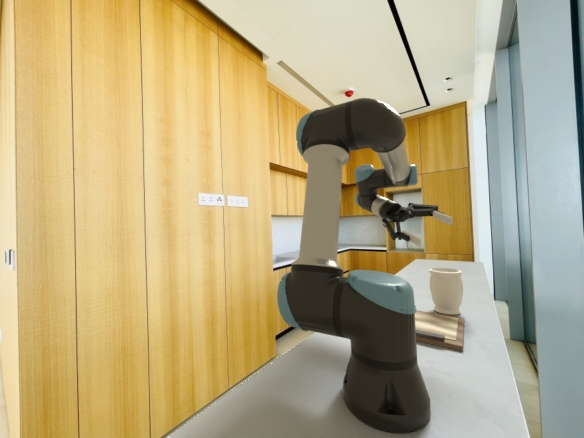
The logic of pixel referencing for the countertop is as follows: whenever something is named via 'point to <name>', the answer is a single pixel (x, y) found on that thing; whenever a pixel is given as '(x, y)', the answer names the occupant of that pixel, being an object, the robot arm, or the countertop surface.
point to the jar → (446, 290)
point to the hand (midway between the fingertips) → (436, 231)
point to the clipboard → (440, 329)
